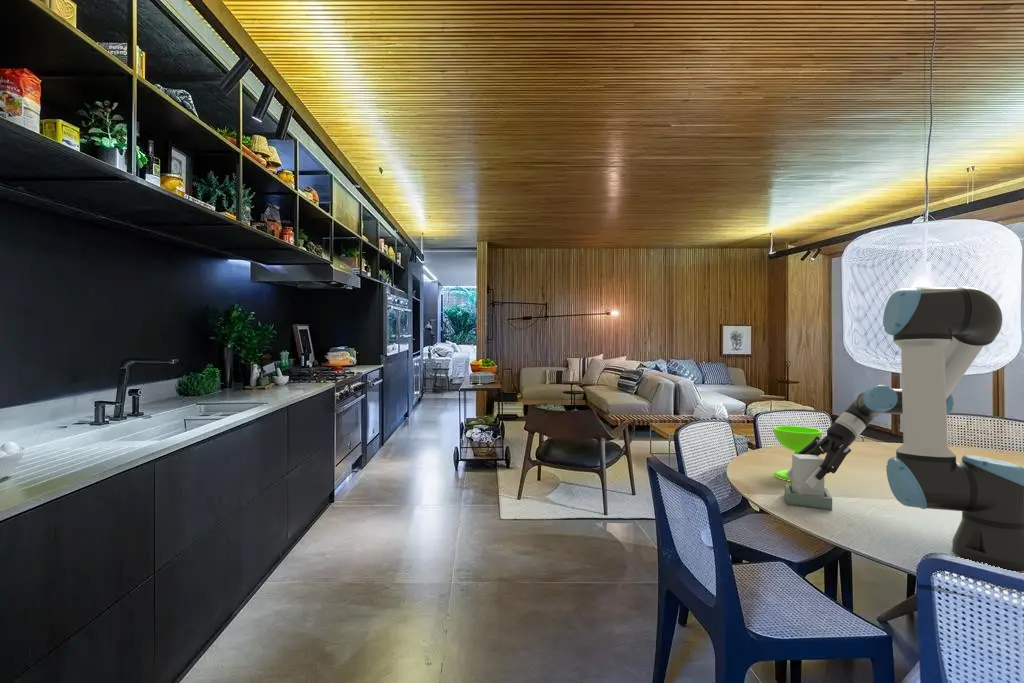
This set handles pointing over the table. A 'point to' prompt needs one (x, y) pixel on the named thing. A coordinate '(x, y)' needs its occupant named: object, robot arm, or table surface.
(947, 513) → the table surface
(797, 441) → the wineglass
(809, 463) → the supplement box
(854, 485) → the table surface
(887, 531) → the table surface
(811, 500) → the holder
